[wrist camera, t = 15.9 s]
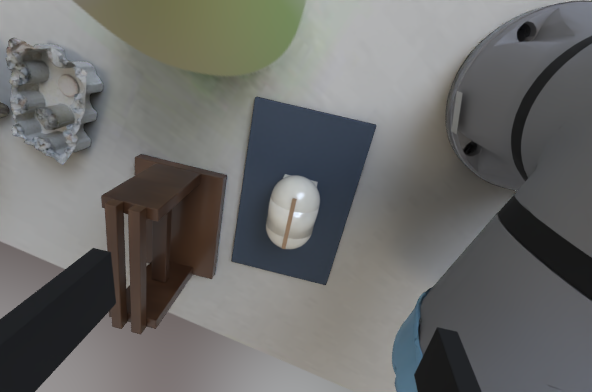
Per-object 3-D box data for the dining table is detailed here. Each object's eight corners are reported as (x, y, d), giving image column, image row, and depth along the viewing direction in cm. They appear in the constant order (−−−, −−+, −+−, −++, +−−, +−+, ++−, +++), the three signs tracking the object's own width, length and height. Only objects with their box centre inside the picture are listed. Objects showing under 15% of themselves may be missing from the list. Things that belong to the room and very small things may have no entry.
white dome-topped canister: (326, 174, 33) (324, 194, 28) (309, 238, 36) (305, 264, 32) (280, 163, 33) (270, 180, 29) (267, 227, 37) (257, 252, 32)
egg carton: (45, 33, 32) (5, 30, 28) (114, 75, 32) (85, 78, 29) (27, 124, 36) (-10, 132, 32) (88, 159, 37) (60, 171, 33)
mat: (375, 124, 31) (376, 125, 30) (326, 282, 39) (325, 285, 39) (256, 96, 31) (254, 97, 31) (232, 258, 40) (231, 261, 39)
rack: (227, 175, 35) (181, 222, 25) (215, 273, 41) (174, 343, 31) (140, 153, 36) (62, 193, 26) (141, 254, 41) (78, 318, 32)
